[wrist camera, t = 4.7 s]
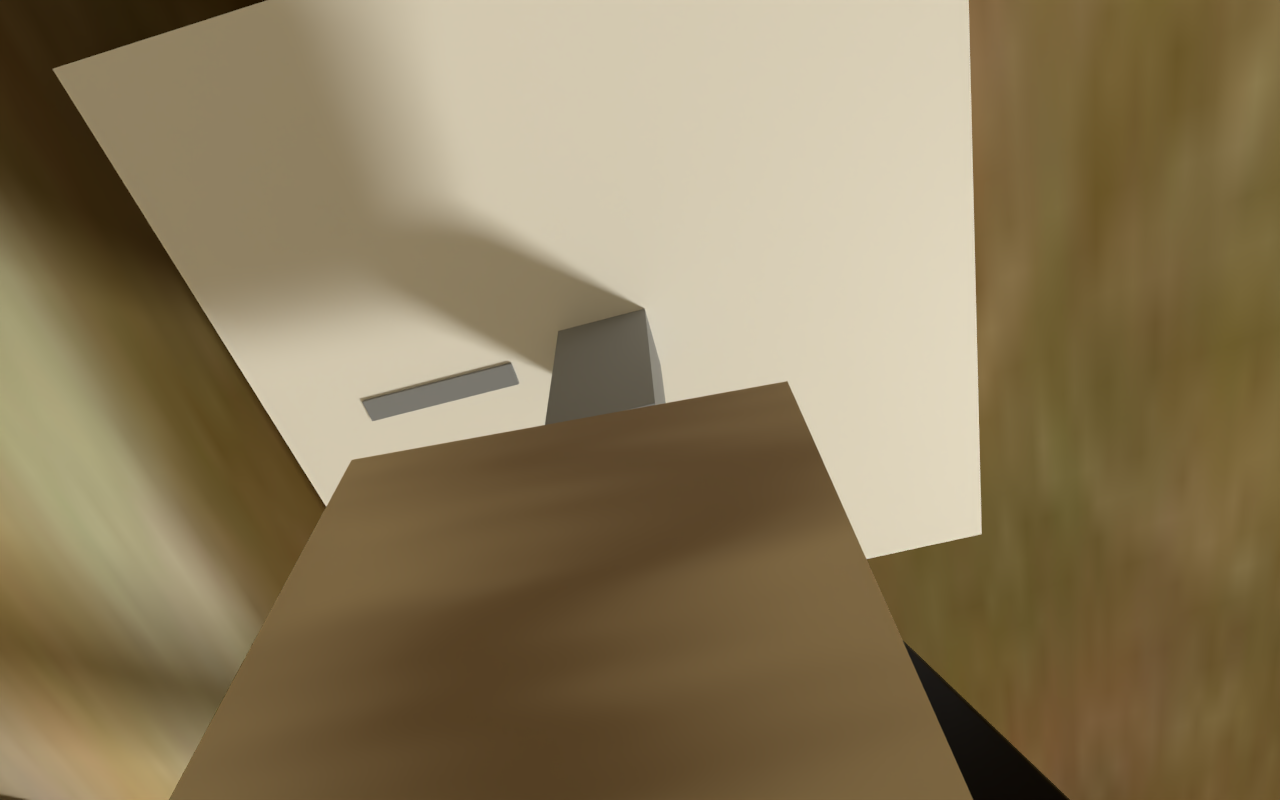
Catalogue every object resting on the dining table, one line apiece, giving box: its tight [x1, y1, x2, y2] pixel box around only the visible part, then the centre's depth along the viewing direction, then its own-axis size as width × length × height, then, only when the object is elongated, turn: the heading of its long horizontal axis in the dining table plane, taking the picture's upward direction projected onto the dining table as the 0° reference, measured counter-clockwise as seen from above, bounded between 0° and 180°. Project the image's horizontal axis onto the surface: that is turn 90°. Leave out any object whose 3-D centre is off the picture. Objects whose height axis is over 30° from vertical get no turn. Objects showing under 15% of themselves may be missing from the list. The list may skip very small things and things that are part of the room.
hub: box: [53, 0, 982, 559], centre depth 16 cm, size 18×18×6 cm
